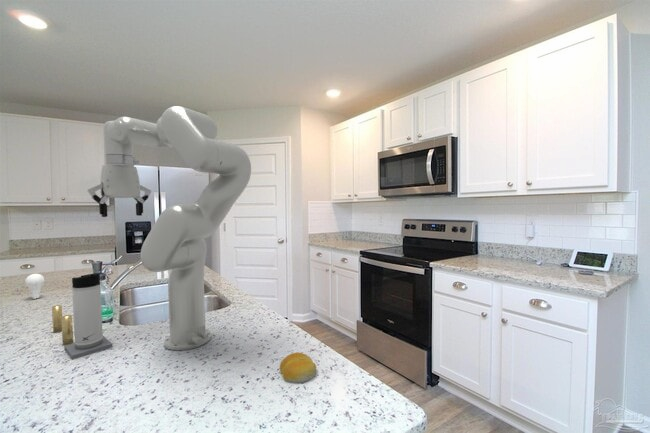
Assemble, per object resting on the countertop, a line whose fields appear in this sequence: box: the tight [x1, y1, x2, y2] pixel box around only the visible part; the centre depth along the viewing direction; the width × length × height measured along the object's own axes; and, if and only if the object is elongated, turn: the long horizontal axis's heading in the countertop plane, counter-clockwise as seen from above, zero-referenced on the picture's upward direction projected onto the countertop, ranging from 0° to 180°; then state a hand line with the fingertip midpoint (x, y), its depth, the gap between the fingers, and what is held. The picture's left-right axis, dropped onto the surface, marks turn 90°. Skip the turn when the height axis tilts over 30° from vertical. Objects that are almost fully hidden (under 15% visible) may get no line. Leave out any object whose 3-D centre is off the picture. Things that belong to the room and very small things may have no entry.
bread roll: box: [279, 352, 317, 384], centre depth 74 cm, size 8×9×4 cm
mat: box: [63, 334, 113, 360], centre depth 88 cm, size 9×9×1 cm
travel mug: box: [71, 272, 104, 349], centre depth 88 cm, size 6×7×20 cm
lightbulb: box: [24, 273, 45, 300], centre depth 136 cm, size 6×6×11 cm
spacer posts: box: [51, 304, 74, 346], centre depth 98 cm, size 16×8×8 cm, turn 49°
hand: (122, 216), depth 100 cm, fingers open, 9 cm apart
